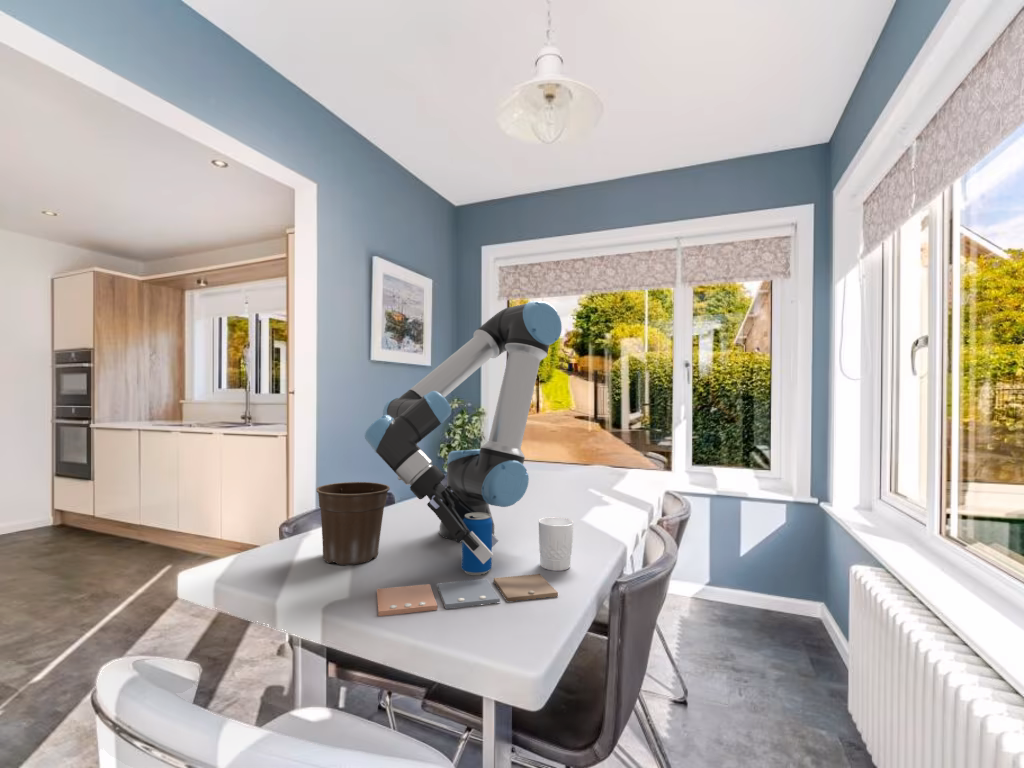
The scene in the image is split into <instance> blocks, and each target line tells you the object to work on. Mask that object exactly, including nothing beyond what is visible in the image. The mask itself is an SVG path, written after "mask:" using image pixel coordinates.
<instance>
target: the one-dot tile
mask: <svg viewBox="0 0 1024 768" xmlns="http://www.w3.org/2000/svg"><path fill="white" fill-rule="evenodd" d="M493 583H494V585H495V584H496V585H495V586H496V588H497V587H498V588H499V589H498V588H497V589H498V591H499V590H500V591H501V592H500V591H499V592H500V593H501V595H502V594H503V595H502V597H503V598H504V597H505V598H506V599H505V598H504V599H505V601H506V600H507V601H513V602H517V601H516V600H523V601H528V600H527V599H532V600H537V599H536V598H541V599H546V598H545V597H550V598H556V597H555V596H558V597H559V592H558V590H557V589H555V588H554V587H553V586H552V584H550V583H549V581H547V579H545V578H544V577H543V576H542V574H540V573H535V574H533V573H532V574H523V575H513V576H502V577H494V578H493ZM507 601H506V602H507Z"/></svg>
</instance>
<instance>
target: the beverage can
mask: <svg viewBox="0 0 1024 768" xmlns="http://www.w3.org/2000/svg"><path fill="white" fill-rule="evenodd" d="M463 522H464V523H465V525H466V526H467V528H468V529H469V531H470V532H471V531H473V533H474V534H475V535H476V536H477V537H478V538H479V539H480V540H481V541H482V542H483V543H484V544H485V546H486V547H487V548H488V549H489V550H490V551H491V552H492V553H493V551H492V550H493V547H492V519H491V518H490V514H487V513H481V512H474V513H468V514H465V518H464V519H463ZM492 558H493V556H492V557H491V558H490V559H488V560H487V561H486V562H485V563H484V564H483V563H482V562H481V561H480V560H479V559H478V558H477V557H476V555H475V554H474V553H473V552H472V551H471V550H470V549H469V548H468V547H467V546H466V545H465V543H464V542H463V541H461V570H463V571H464V573H466V574H467V575H470V574H471V576H482V575H481V574H483V575H485V573H486V574H487V573H488V572H489V571H491V569H492Z"/></svg>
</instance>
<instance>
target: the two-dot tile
mask: <svg viewBox="0 0 1024 768" xmlns="http://www.w3.org/2000/svg"><path fill="white" fill-rule="evenodd" d="M436 584H437V587H436V588H437V591H438V590H439V591H438V593H439V596H440V598H441V601H442V603H444V604H443V606H444V608H445V609H446V610H449V609H456V607H458V608H465V607H464V606H468V607H473V606H472V605H477V606H482V605H481V604H486V605H490V604H489V603H495V604H498V603H497V602H500V603H501V598H500V597H499V595H498V593H497V592H496V591H495V589H494V588H493V586H492V585H491V583H490V581H489V580H488V579H487V578H481V579H479V578H478V579H472V580H471V579H469V580H460V581H449V582H437V583H436Z"/></svg>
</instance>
